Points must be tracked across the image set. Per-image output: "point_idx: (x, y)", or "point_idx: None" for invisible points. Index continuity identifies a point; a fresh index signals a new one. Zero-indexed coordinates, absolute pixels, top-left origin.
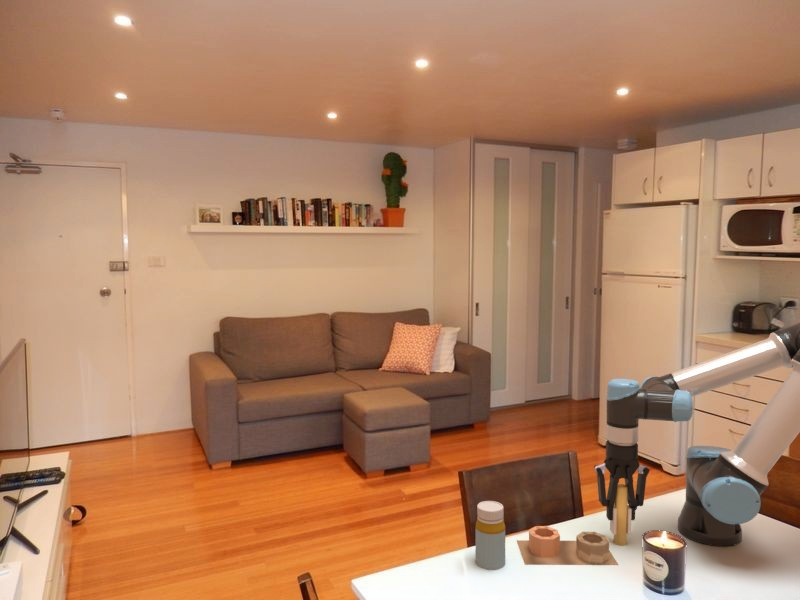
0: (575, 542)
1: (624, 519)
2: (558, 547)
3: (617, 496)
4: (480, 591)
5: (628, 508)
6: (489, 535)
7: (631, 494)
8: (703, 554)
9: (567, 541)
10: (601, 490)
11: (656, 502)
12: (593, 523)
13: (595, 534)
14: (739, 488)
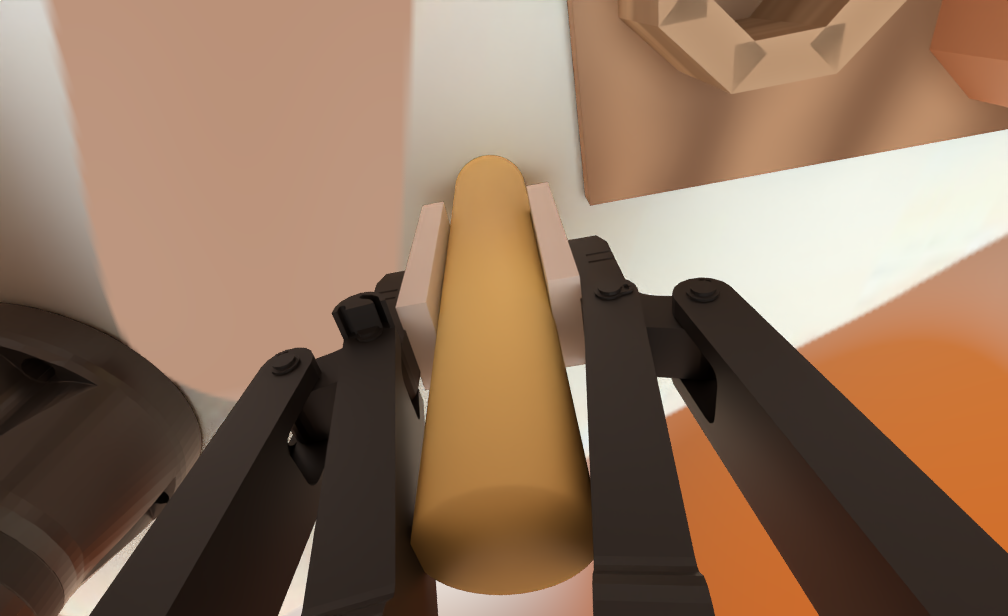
0: (772, 147)
1: (468, 243)
2: None
3: (554, 389)
4: None
5: (425, 321)
6: None
7: (368, 431)
8: (22, 197)
9: (818, 152)
10: (838, 407)
11: (304, 582)
12: (583, 404)
13: (743, 33)
14: None
